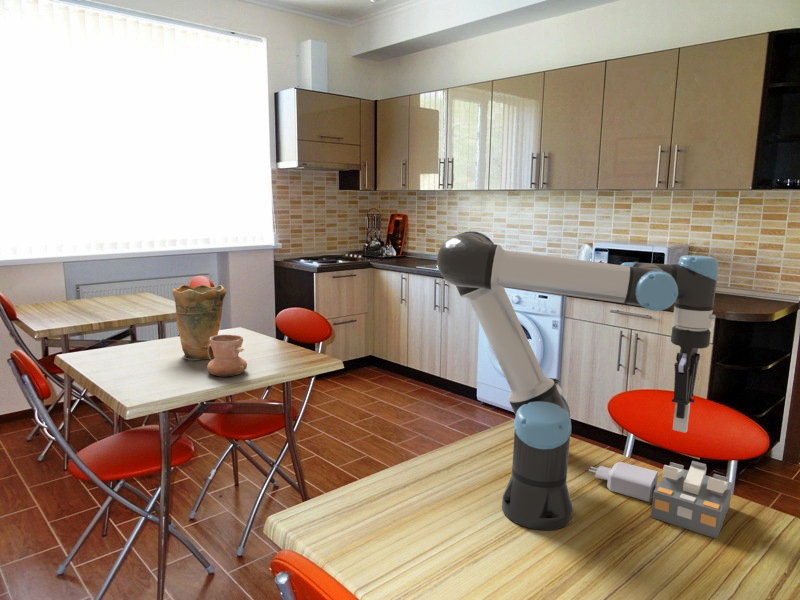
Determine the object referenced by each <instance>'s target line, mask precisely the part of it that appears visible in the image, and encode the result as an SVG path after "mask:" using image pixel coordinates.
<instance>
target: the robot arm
mask: <svg viewBox="0 0 800 600" xmlns="http://www.w3.org/2000/svg"><path fill="white" fill-rule="evenodd" d="M436 263H437V269H438V270H439V273H440V275H441V277H442V278H443V279H444V280H445V281H447V282H448V283H450V284H451V285H453V286H455V287H456V290H457V291H458V293H459V296H460V297H461V298H462V299H466V300H468V301H469V302H470V304H471V307H472V309H473V311H474V312H475V315H476V317H477V320H478V322H479V324H480V326H481V328H482V331H483V333H484V335H485V337H486V339H487V341H488V343H489V345H490V348H491V349H492V352H493V354H494V356H495V359H496V361H497V362H498V363H497V364H498V365H499V367H500V370H501V371H502V375H503V376H504V378H505V381H506V382H507V385H508V387H509V389H510V393H509V396H508V398H507V399H508V401H509V404H510V407H511V409H512V411H513V413H514V416H515V418H514V421H513V428H514V431H513V432H514V433H513V434H514V437H513V448H512V449H513V451H512V466H511V476H510V479H508V483H507V485H506V488H505V490H504V492H503V495H502V499H501V500H502V501H501V510H502V513H503V514H504V515H505V516H506V517H507V518H508V519H509V520H510V521H512V522H513V523H515V524H518V525H520V526H522V527H525V528H528V529H533V530H540V531H552V530H553V531H554V530H558V529H563V528H564V527H566V526H568V525H569V524H570V523H571V522H572V519H573V511H574V510H573V509H574V508H573V503H572V500H571V496H570V492H569V491H570V490H569V487H568V484H567V477H568V466H569V465H568V464H569V454H570V453H569V451H570V440H571V434H572V420H571V410H570V406H569V404H568V402H567V400H566V399H565V398H564V396H563V395H561V394H560V393H559V391H558V389H557V387H556V385H555V383H554V381H553V380H552V379H550V378H551V377H548V376H547V377H546V375H544V372H543V369H542V368H541V366H540V364H539V361H538V359H537V357H536V355H535V353H534V351H533V348H532V346H531V344H530V341H529V339H528V338H527V334H526V333H525V331H524V328H523V327H522V324H521V322H520V320H519V318H518V315H517V313H516V311H515V309H514V306H513V305H512V303H511V300H510V298H509V296H508V293H507V292H506V289H505V288H511V289H519V290H528V291H534V292H542V293H548V294H549V293H550V294H556V295H562V296H570V297H571V296H572V297H577V298H584V299H592V300H593V299H594V300H599V301H606V302H607V301H608V302H612V303H613V302H614V303H619V304H620V303H621V304H627V305H633V306H638V307H639V306H640V307H641V308H644V309H646V310H649V311H654V312H659V311H660V312H661V311H664V310H666V309H669V308H670V307H671V306H673V305H674V306H673V313H672V314H673V315H672V324H673V325H674V326H672V328H671V334H670V335H671V336H670V342H671V343H672V345H675V346H678V347H680V349H679V352H677V353H676V360H675V361H676V362H675V363H674V389H673V398H672V399H671V403H674V404H675V406H674V414H673V423H672V430H673V431H677V432H681V433H685V434H686V433H687V432H688V427H689V426H688V425H689V417H690V409H691V403H692V404H695V398H693V397H694V390H695V386H696V380H697V372H698V368H699V361H700V358H701V354H700V353H699V352H698V351H699V350H700V349H707V348H708V347H709V346H710V343H711V341H710V340H711V333H712V332H711V330H710V328H712V321H713V320H715V319H716V318H717V316H716V314H713V312H714V305H715V297H716V292H717V291H716V290H717V283H718V280H719V279H718V274H719V273H718V272H719V270H718V269H719V268H718V267H719V262H718V260H717V258H715V257H712V256H706V255H696V254H695V255H694V254H691V255H689V254H688V255H687V254H686V255H682V256H680V257H679V260H678V262H677V263H674V264H671V263H670V264H666V263H652V262H651V263H650V262H639V261H633V262H623V263H621V264H615V263H614V264H613V263H604V262H600V261H598V262H597V261H591V260H584V259H583V260H581V259H575V258H568V257H566V258H565V257H560V256H559V257H558V256H551V255H542V254H534V253H527V252H518V251H512V250H511V251H510V250H505V249H503V247H502V246H501V245H500V244H495V243H494V242H493V240H491V238H489V236H487V235H486V234H484V233H481V232H479V231H473V230H472V231H471V230H469V231H464V232H461V233H459V234H455V235H453V236H450V237H449V238H447V239H446V240H444V242H443V243H442V244H441V246H440V248H439V249H438V253H437V258H436ZM504 287H505V288H504Z"/></svg>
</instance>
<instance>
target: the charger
mask: <svg viewBox="0 0 800 600" xmlns="http://www.w3.org/2000/svg"><path fill="white" fill-rule="evenodd" d="M588 472H592V473H595V474H594V475H595V478H597V479H600V480H604V481H607V485H606V487H607V489H608V490H609V491H610V492H613V493H616V494H621V495H624V496H627V497H631V498H634V499H637V500H641V501H643V502H648V503H650V502H651V500H652V499H653V492H654V490H655V489H656V487H657V486H658V477H659V471H658V470H654V469H651V468H645V467H641V466H638V465H635V464H634V465H633V464H630V463H626V462H622V461H618V462H615V463H614V464H613V466H612V467H608V466H607V467H606V466H602V465H599V466H598V467H595V466H590V469H588Z"/></svg>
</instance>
